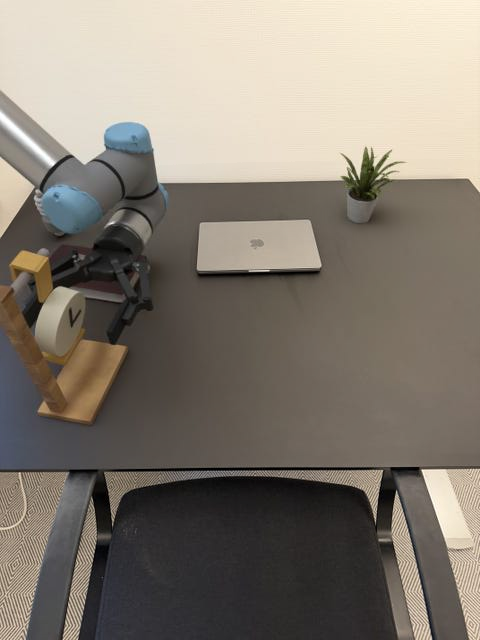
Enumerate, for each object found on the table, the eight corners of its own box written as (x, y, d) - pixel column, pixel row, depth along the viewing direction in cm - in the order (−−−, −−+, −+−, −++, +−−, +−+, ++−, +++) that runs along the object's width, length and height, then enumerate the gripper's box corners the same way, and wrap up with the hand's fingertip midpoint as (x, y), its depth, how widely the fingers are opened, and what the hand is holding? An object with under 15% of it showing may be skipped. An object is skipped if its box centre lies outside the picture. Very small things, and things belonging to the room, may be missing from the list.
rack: (39, 415, 75) (-33, 297, 56) (81, 343, 85) (33, 223, 66) (92, 425, 73) (36, 308, 54) (128, 350, 84) (92, 229, 65)
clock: (15, 360, 71) (-7, 281, 58) (47, 313, 77) (33, 233, 65) (61, 374, 71) (49, 297, 58) (89, 326, 77) (83, 248, 65)
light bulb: (77, 229, 109) (62, 182, 100) (67, 243, 105) (50, 197, 97) (55, 227, 110) (38, 180, 101) (44, 241, 106) (25, 194, 97)
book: (66, 252, 103) (61, 240, 101) (148, 264, 100) (146, 252, 97) (36, 291, 95) (31, 279, 92) (125, 305, 91) (122, 293, 89)
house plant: (406, 228, 107) (425, 162, 95) (353, 243, 104) (367, 176, 92) (372, 197, 116) (385, 133, 104) (322, 209, 113) (331, 144, 101)
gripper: (193, 267, 82) (153, 361, 67) (62, 250, 86) (-3, 336, 71) (189, 232, 76) (144, 326, 62) (49, 215, 80) (-23, 300, 66)
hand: (65, 331), depth 67 cm, fingers open, 13 cm apart
